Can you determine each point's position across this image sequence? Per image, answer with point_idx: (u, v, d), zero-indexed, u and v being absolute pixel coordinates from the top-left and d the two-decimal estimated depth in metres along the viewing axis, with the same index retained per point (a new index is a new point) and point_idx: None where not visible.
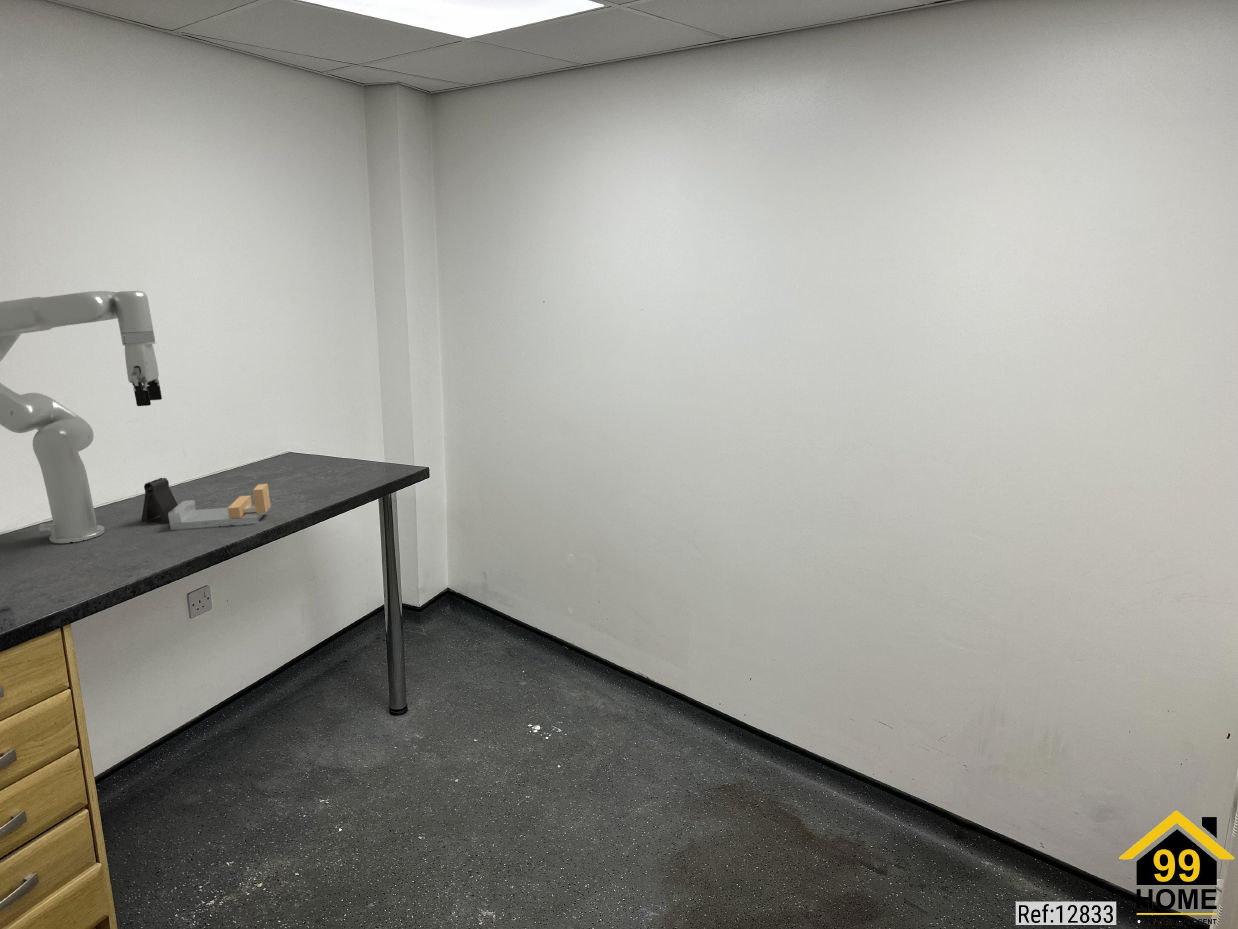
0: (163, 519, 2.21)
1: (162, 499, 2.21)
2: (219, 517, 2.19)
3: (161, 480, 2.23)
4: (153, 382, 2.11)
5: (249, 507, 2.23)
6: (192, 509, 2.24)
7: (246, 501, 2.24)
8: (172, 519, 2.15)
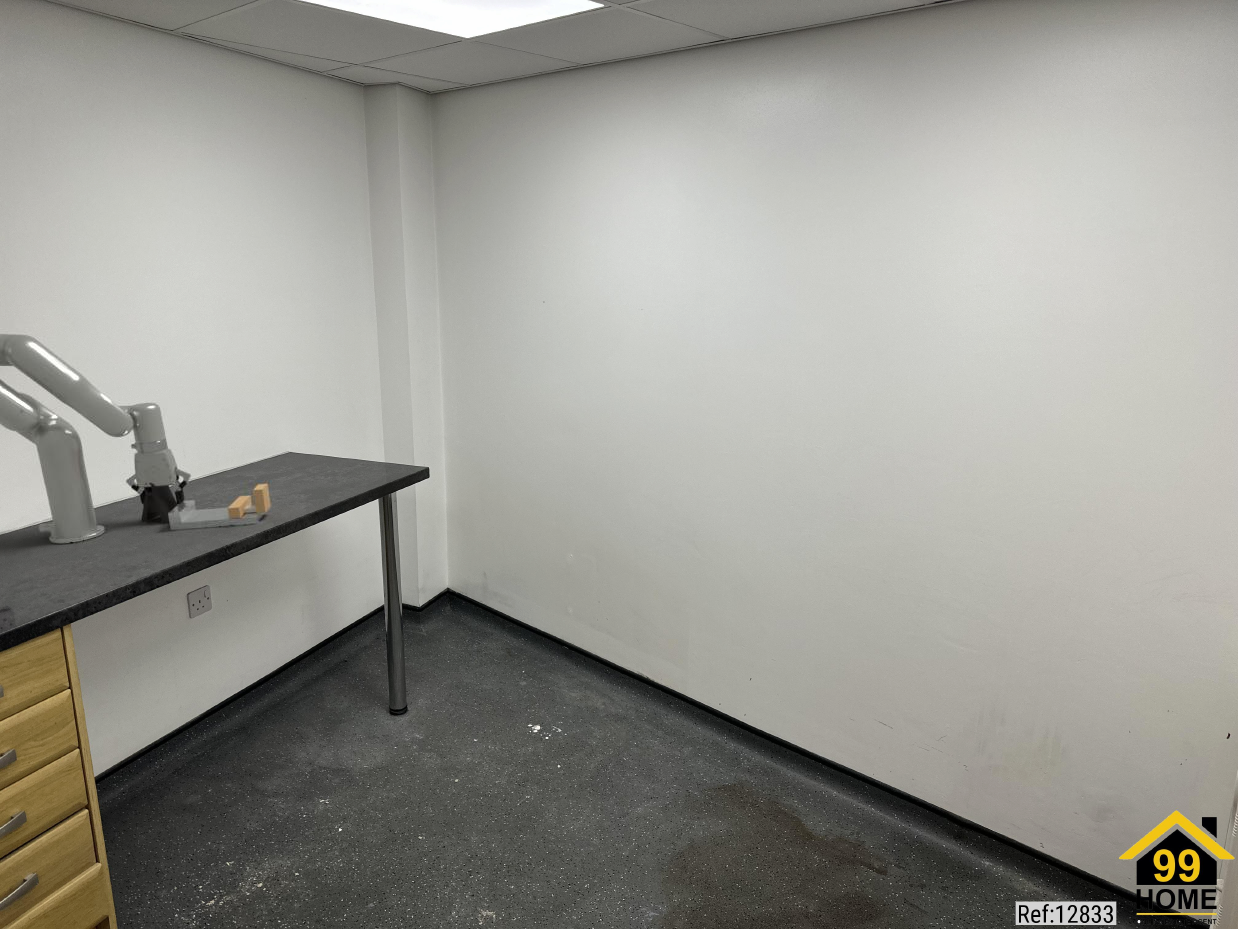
0: (163, 519, 2.21)
1: (162, 499, 2.21)
2: (219, 517, 2.19)
3: None
4: (143, 489, 2.22)
5: (249, 507, 2.23)
6: (192, 509, 2.24)
7: (246, 501, 2.24)
8: (172, 519, 2.15)
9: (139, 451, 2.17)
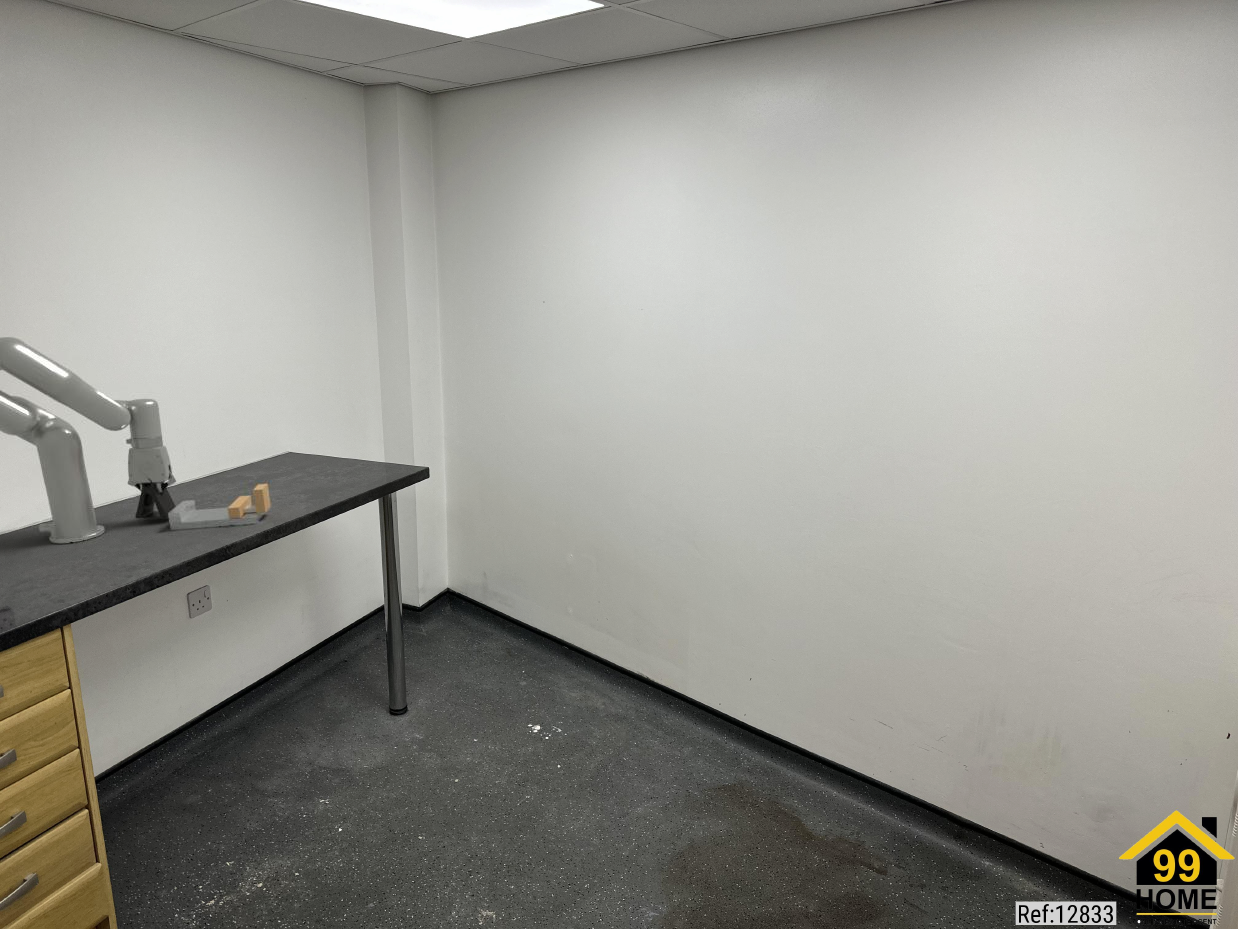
0: (161, 514, 2.21)
1: (159, 494, 2.21)
2: (219, 517, 2.19)
3: None
4: None
5: (249, 507, 2.23)
6: (192, 509, 2.24)
7: (246, 501, 2.24)
8: (172, 519, 2.15)
9: (134, 446, 2.16)
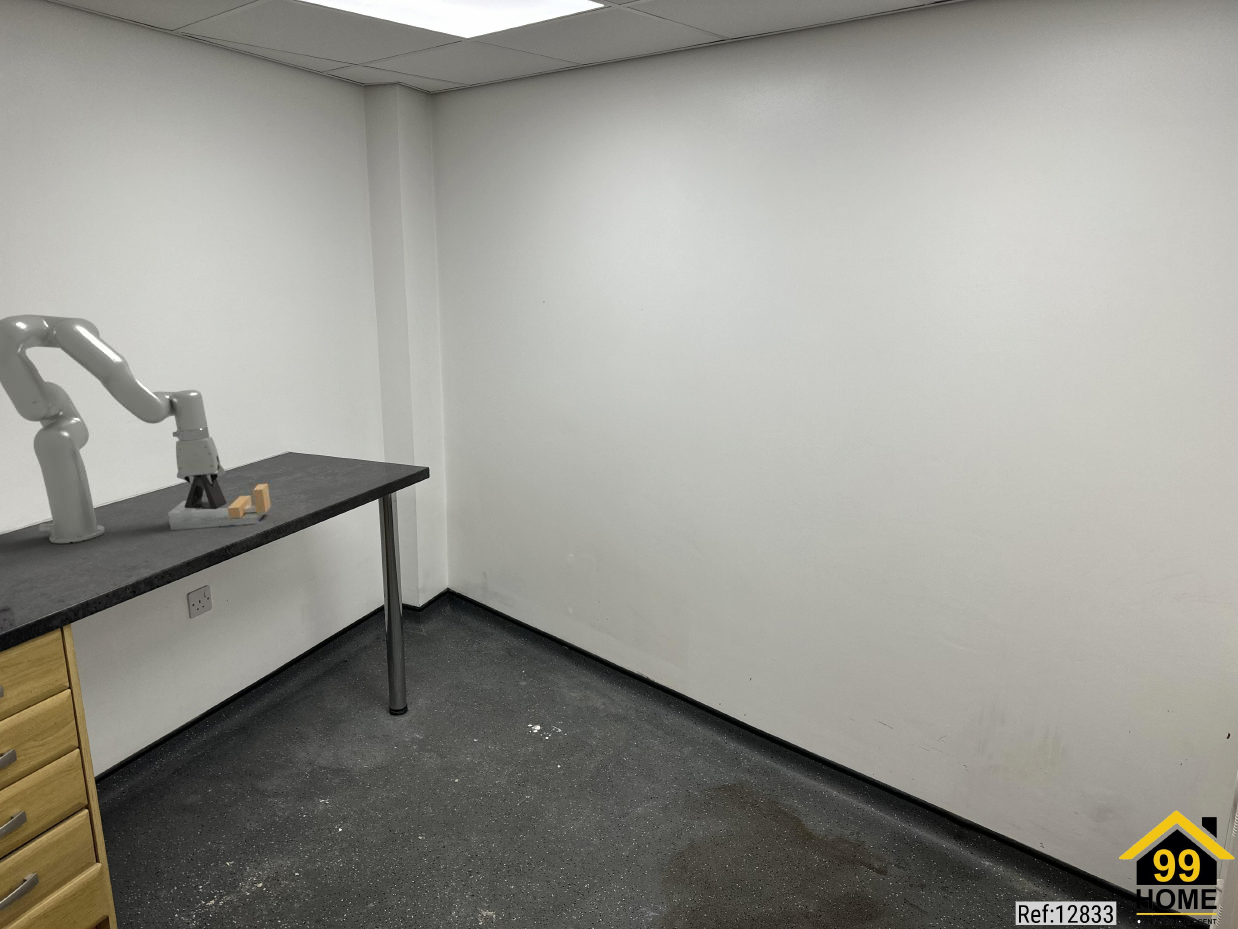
0: (211, 504, 2.19)
1: (210, 485, 2.19)
2: (219, 517, 2.19)
3: None
4: None
5: (249, 507, 2.23)
6: (192, 509, 2.24)
7: (246, 501, 2.24)
8: (172, 519, 2.15)
9: (181, 439, 2.13)
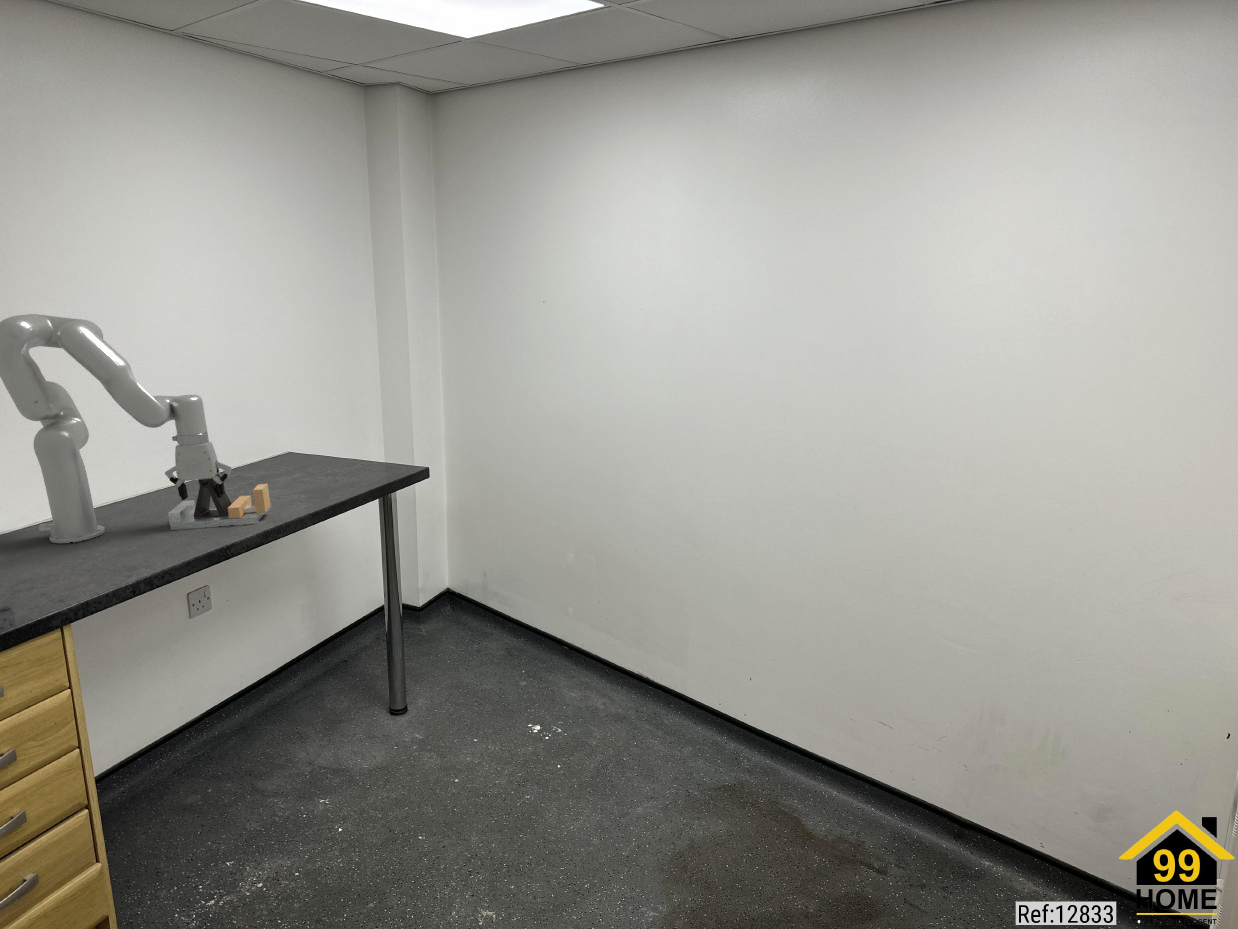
0: (220, 512, 2.20)
1: (216, 492, 2.20)
2: (219, 517, 2.19)
3: None
4: None
5: (249, 507, 2.23)
6: (192, 509, 2.24)
7: (246, 501, 2.24)
8: (172, 519, 2.15)
9: (181, 443, 2.13)
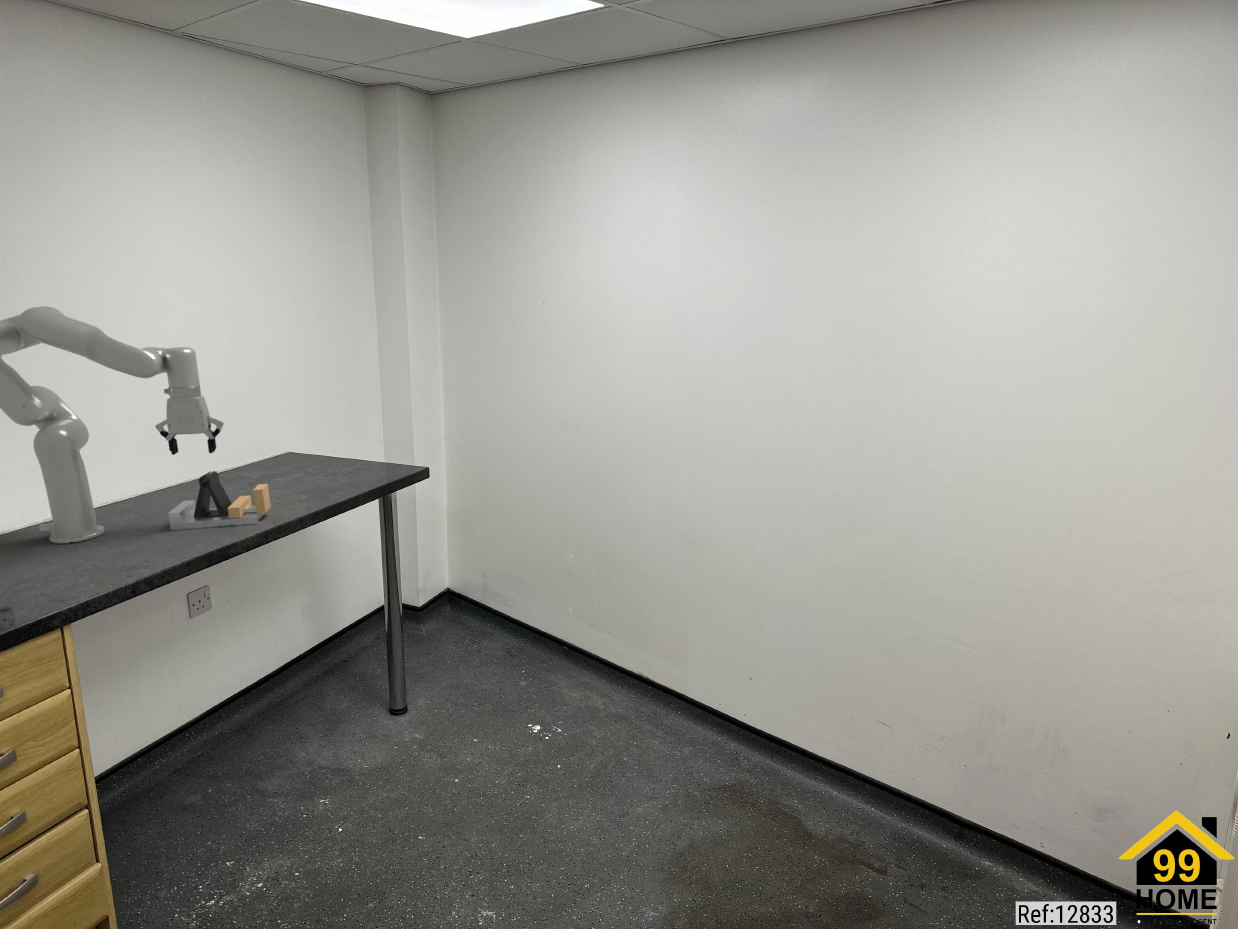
0: (220, 512, 2.20)
1: (217, 492, 2.20)
2: (219, 517, 2.19)
3: (213, 473, 2.21)
4: (172, 436, 2.15)
5: (249, 507, 2.23)
6: (192, 509, 2.24)
7: (246, 501, 2.24)
8: (172, 519, 2.15)
9: (172, 396, 2.10)
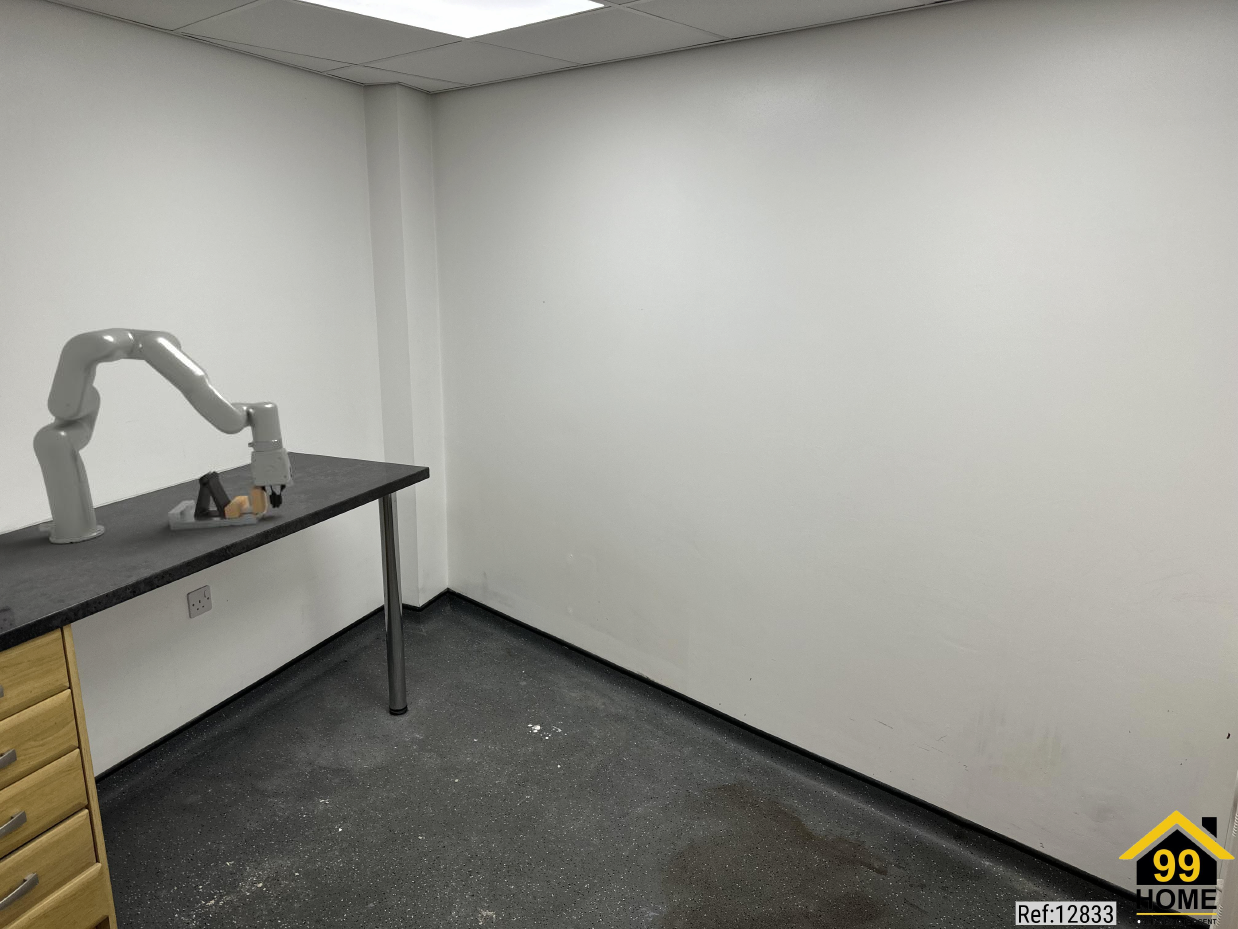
0: (220, 512, 2.20)
1: (217, 492, 2.20)
2: (219, 517, 2.19)
3: (213, 473, 2.21)
4: (271, 489, 2.24)
5: (246, 507, 2.23)
6: (192, 509, 2.24)
7: (243, 501, 2.24)
8: (172, 519, 2.15)
9: (257, 450, 2.17)
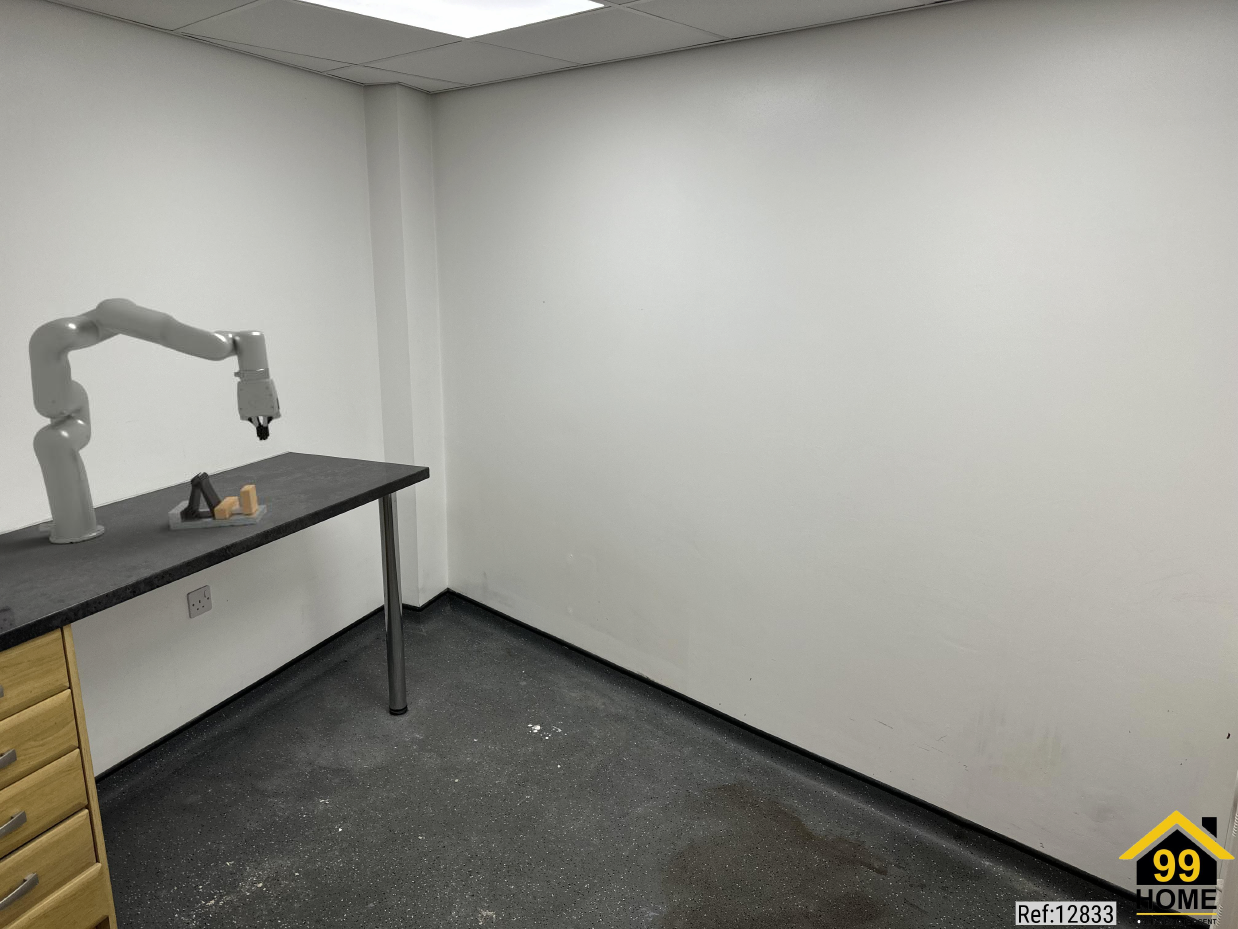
0: (212, 512, 2.19)
1: (209, 493, 2.19)
2: None
3: (204, 474, 2.20)
4: (258, 421, 2.19)
5: (236, 508, 2.23)
6: None
7: (233, 502, 2.24)
8: (172, 519, 2.15)
9: (243, 379, 2.12)
